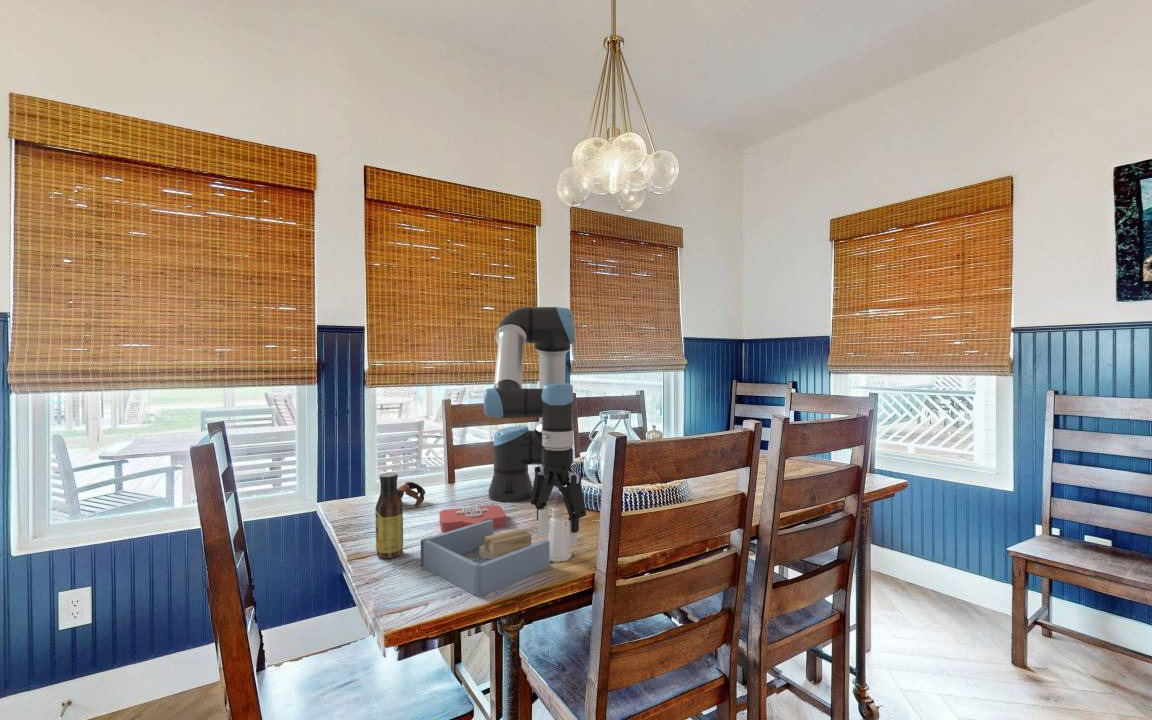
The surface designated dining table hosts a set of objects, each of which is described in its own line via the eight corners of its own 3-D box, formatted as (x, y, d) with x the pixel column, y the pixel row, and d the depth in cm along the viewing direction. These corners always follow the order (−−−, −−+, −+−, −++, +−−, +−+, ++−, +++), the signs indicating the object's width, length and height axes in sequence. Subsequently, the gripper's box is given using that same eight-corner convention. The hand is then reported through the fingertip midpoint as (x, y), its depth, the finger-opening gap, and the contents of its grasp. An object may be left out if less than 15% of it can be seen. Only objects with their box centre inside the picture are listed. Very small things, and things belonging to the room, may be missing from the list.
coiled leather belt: (403, 500, 172) (416, 479, 171) (420, 517, 167) (433, 496, 167) (376, 500, 161) (389, 478, 161) (394, 519, 156) (407, 495, 156)
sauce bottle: (382, 549, 129) (382, 470, 128) (407, 550, 128) (406, 470, 128) (371, 560, 122) (370, 476, 122) (397, 560, 122) (396, 477, 121)
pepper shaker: (542, 556, 123) (542, 510, 123) (551, 547, 128) (551, 504, 128) (563, 559, 121) (563, 512, 121) (571, 551, 127) (572, 506, 126)
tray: (490, 542, 134) (490, 519, 134) (549, 566, 119) (549, 541, 119) (420, 565, 119) (420, 539, 119) (478, 597, 104) (478, 567, 104)
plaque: (442, 524, 137) (439, 508, 151) (442, 538, 137) (439, 521, 151) (508, 518, 143) (499, 502, 157) (508, 531, 143) (499, 515, 157)
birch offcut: (489, 551, 129) (489, 539, 129) (537, 559, 125) (537, 546, 125) (479, 559, 124) (479, 547, 124) (528, 567, 120) (528, 554, 120)
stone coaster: (557, 548, 130) (557, 546, 130) (577, 556, 125) (577, 553, 125) (536, 556, 125) (536, 554, 125) (557, 564, 120) (557, 562, 120)
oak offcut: (485, 548, 124) (485, 536, 124) (522, 539, 129) (522, 528, 129) (493, 554, 120) (493, 542, 120) (531, 545, 125) (531, 534, 125)
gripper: (515, 443, 129) (515, 532, 129) (580, 456, 114) (579, 557, 115) (538, 439, 134) (537, 525, 135) (602, 451, 119) (601, 547, 120)
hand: (557, 539), depth 125 cm, fingers open, 9 cm apart
